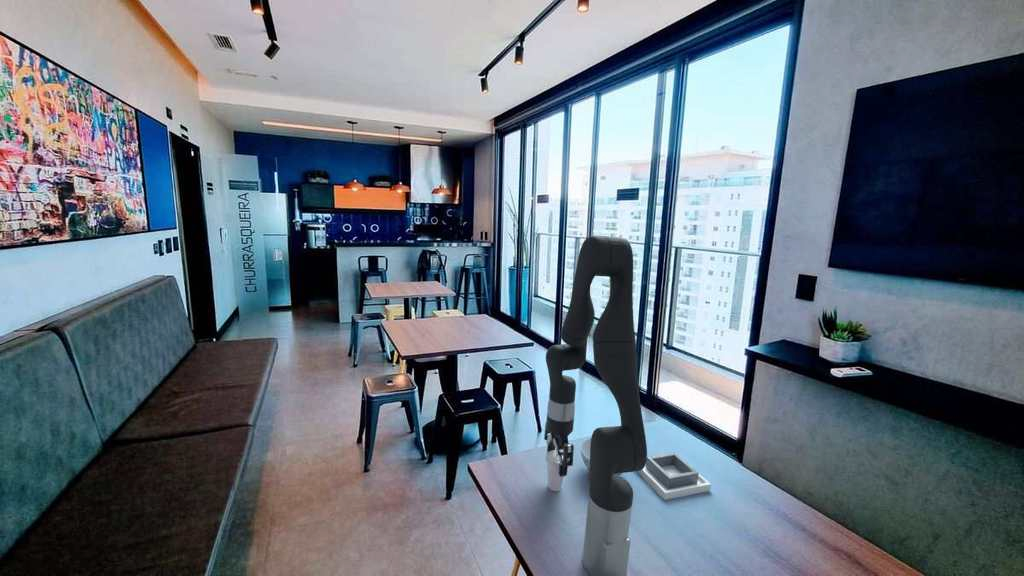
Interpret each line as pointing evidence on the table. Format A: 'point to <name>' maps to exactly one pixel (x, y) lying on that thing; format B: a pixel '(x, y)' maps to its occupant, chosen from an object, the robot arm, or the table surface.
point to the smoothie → (553, 471)
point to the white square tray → (673, 476)
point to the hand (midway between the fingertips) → (556, 466)
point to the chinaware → (587, 453)
